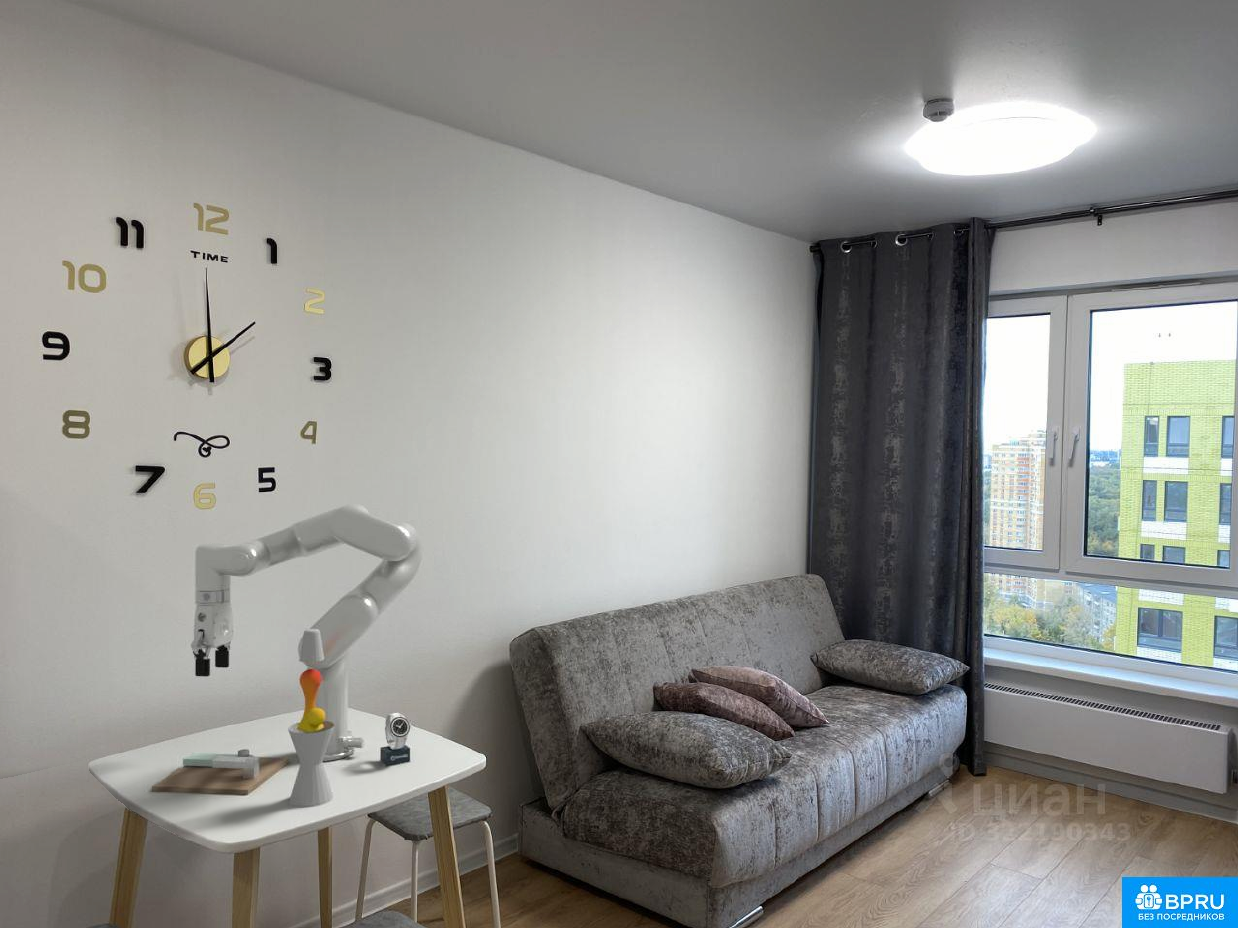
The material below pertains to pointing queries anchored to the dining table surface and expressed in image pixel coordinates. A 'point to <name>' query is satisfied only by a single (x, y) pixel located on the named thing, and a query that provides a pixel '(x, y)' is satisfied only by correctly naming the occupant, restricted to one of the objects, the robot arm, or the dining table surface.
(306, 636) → the lava lamp
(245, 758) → the keeper
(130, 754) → the dining table surface
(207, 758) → the link
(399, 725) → the watch
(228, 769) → the board
